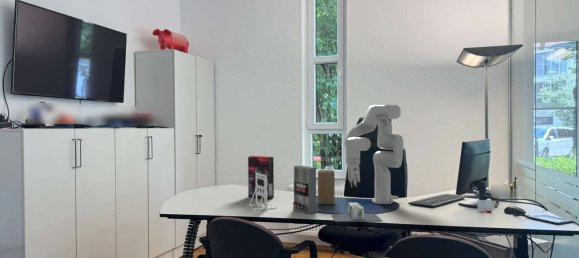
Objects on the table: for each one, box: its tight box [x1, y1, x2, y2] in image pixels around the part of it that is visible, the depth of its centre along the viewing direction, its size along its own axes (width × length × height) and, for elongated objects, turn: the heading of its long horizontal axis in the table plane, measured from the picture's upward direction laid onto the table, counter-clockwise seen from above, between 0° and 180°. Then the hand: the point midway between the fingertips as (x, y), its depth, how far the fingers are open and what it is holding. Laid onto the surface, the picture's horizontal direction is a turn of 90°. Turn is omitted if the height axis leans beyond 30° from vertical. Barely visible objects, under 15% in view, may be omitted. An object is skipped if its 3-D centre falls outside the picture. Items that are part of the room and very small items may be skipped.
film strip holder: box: [246, 173, 278, 212], centre depth 234 cm, size 14×14×20 cm
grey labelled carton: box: [292, 165, 318, 215], centre depth 225 cm, size 14×6×25 cm, turn 37°
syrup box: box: [347, 202, 365, 219], centre depth 212 cm, size 6×6×14 cm
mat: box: [331, 213, 383, 223], centre depth 209 cm, size 24×14×1 cm, turn 92°
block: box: [317, 169, 336, 205], centre depth 245 cm, size 10×10×20 cm
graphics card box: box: [247, 155, 275, 200], centre depth 262 cm, size 17×7×27 cm, turn 58°
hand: (353, 194), depth 217 cm, fingers closed
